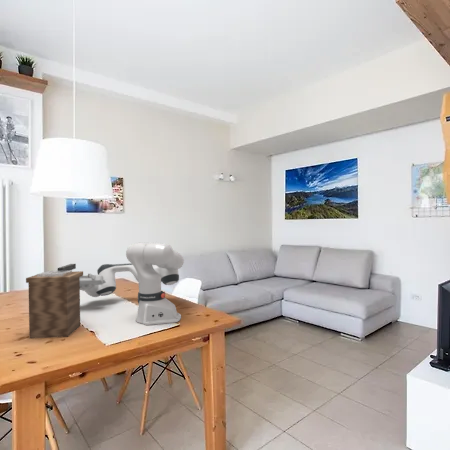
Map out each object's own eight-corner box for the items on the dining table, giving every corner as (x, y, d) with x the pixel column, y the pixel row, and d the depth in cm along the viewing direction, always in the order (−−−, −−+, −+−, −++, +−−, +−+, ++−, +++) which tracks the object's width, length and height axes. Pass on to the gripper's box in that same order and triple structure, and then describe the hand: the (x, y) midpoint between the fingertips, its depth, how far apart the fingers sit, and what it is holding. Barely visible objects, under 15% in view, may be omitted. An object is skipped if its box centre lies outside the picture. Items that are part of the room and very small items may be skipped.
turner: (84, 268, 163) (84, 263, 163) (62, 276, 138) (62, 271, 138) (62, 268, 162) (62, 264, 162) (36, 277, 137) (36, 271, 137)
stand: (84, 324, 152) (83, 271, 152) (70, 336, 136) (69, 277, 136) (45, 326, 151) (44, 272, 151) (27, 338, 135) (25, 278, 135)
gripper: (105, 288, 183) (98, 280, 171) (69, 289, 181) (59, 281, 169) (107, 277, 186) (100, 269, 174) (71, 278, 184) (62, 270, 172)
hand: (80, 275), depth 171 cm, fingers open, 8 cm apart
